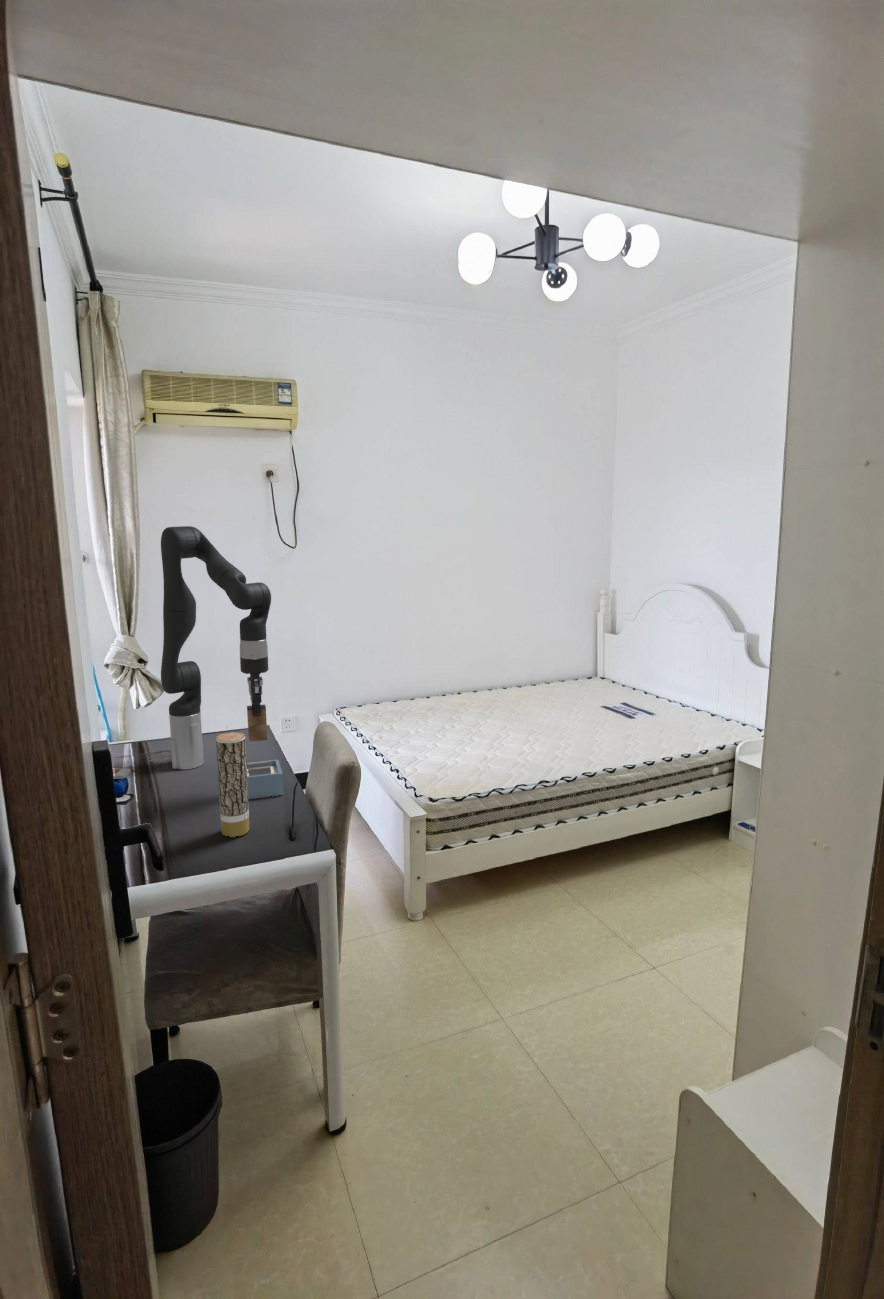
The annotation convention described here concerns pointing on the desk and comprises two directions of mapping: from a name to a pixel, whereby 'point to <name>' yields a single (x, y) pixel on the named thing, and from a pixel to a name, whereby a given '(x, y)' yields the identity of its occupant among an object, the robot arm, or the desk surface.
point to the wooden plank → (257, 725)
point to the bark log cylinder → (232, 784)
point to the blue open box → (264, 779)
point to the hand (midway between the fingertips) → (256, 714)
